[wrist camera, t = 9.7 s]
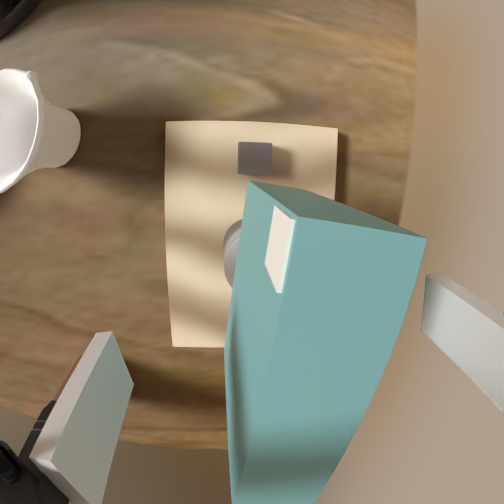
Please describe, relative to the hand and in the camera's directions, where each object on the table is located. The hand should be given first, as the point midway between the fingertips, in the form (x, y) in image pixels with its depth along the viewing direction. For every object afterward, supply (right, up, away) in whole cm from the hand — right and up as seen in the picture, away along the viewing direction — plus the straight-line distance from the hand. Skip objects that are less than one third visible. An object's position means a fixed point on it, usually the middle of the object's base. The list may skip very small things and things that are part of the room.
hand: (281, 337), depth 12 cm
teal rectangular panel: (-1, +2, +8) cm, 9 cm away
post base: (-1, +4, +16) cm, 17 cm away
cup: (-19, +14, +12) cm, 26 cm away
